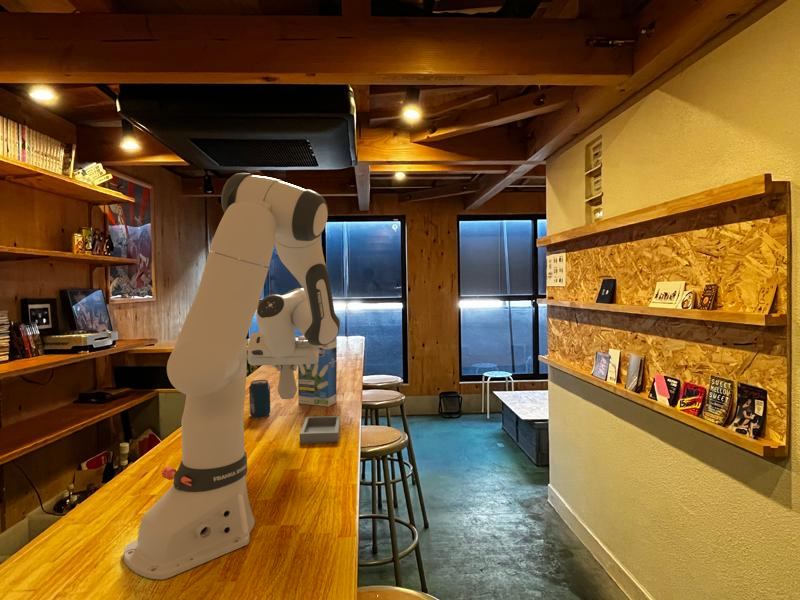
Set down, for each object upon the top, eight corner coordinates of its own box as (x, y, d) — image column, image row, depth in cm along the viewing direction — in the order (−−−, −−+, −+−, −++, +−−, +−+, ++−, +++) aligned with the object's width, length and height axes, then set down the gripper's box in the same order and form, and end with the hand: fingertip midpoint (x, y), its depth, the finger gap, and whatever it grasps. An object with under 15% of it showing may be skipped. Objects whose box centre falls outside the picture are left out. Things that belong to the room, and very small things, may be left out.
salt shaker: (292, 400, 137) (291, 357, 136) (274, 399, 138) (273, 357, 137) (300, 395, 143) (298, 353, 142) (282, 394, 144) (281, 353, 143)
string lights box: (297, 404, 175) (296, 336, 174) (307, 398, 183) (306, 334, 181) (328, 407, 171) (328, 338, 170) (338, 401, 178) (337, 335, 177)
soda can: (273, 412, 164) (272, 379, 164) (265, 418, 157) (265, 384, 157) (254, 412, 165) (254, 379, 164) (246, 418, 158) (245, 383, 157)
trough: (337, 442, 135) (337, 432, 135) (299, 443, 134) (299, 433, 134) (340, 424, 151) (340, 415, 151) (306, 425, 150) (306, 416, 150)
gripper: (317, 332, 133) (321, 359, 143) (245, 333, 131) (254, 361, 142) (316, 350, 129) (320, 376, 139) (241, 351, 127) (251, 378, 137)
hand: (287, 369), depth 140 cm, fingers closed on salt shaker, 3 cm apart
